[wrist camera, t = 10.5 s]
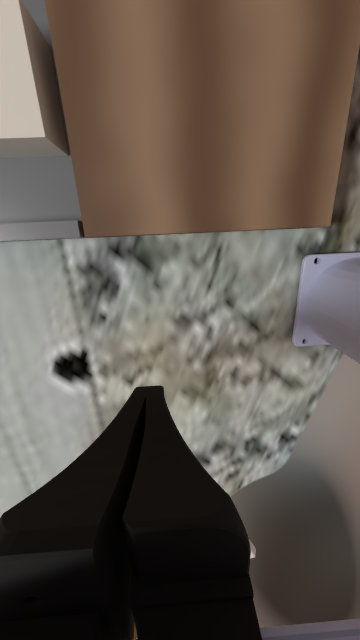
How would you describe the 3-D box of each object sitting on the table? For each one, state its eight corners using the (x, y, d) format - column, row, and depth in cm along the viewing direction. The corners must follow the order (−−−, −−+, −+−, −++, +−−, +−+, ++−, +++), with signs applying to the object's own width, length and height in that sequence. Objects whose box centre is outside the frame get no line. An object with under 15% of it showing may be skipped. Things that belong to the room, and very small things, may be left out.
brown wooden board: (345, -86, 13) (396, -180, 10) (305, 228, 18) (330, 226, 15) (49, -84, 12) (13, -181, 9) (98, 237, 18) (84, 237, 15)
